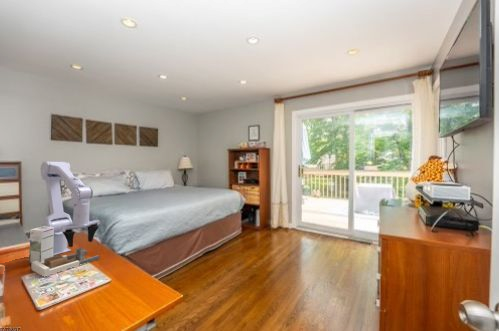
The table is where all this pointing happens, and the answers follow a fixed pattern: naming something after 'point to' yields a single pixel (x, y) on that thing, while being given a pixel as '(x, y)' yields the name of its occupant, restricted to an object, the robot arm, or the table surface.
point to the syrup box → (41, 243)
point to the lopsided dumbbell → (63, 259)
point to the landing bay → (84, 259)
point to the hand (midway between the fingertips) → (80, 244)
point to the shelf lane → (46, 271)
